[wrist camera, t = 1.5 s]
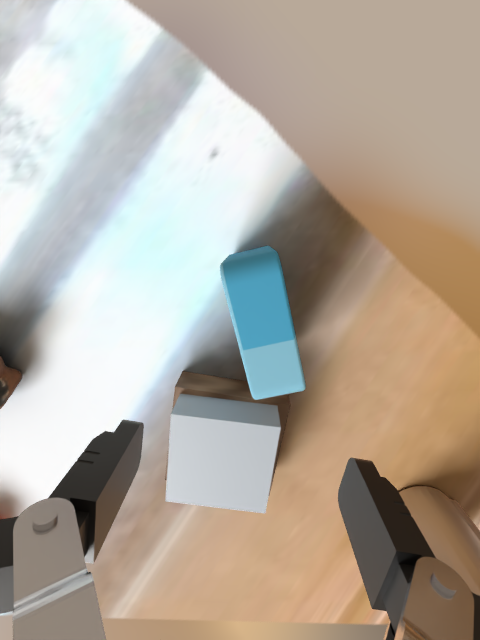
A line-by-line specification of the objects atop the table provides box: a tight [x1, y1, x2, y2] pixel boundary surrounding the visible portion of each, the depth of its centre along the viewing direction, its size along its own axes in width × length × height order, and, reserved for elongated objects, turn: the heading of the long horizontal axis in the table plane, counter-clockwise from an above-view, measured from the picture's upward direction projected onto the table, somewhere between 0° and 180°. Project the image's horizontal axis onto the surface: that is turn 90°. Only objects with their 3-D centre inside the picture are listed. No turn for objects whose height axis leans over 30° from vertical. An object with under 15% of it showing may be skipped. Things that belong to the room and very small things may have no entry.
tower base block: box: [165, 371, 290, 494], centre depth 38 cm, size 13×13×4 cm
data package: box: [220, 246, 306, 400], centre depth 29 cm, size 12×4×12 cm, turn 14°
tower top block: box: [166, 394, 281, 513], centre depth 34 cm, size 11×11×4 cm
